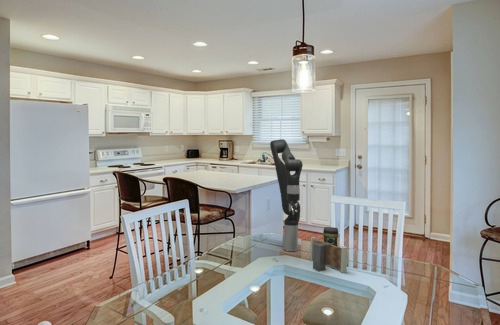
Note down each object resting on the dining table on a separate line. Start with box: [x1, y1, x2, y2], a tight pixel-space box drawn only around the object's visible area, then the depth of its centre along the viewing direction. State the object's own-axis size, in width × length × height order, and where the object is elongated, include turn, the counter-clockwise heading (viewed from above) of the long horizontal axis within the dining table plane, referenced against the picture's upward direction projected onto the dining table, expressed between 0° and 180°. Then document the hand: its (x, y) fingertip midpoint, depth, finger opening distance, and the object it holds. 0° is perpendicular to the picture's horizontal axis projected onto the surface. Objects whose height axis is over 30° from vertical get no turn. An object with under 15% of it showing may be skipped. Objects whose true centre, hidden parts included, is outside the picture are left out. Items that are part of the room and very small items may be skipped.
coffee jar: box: [322, 226, 339, 247], centre depth 210 cm, size 10×8×19 cm
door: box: [314, 239, 342, 271], centre depth 192 cm, size 21×1×12 cm, turn 34°
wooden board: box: [309, 236, 348, 274], centre depth 192 cm, size 25×3×14 cm, turn 34°
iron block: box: [312, 243, 327, 272], centre depth 186 cm, size 5×5×14 cm
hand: (293, 219), depth 200 cm, fingers open, 8 cm apart
